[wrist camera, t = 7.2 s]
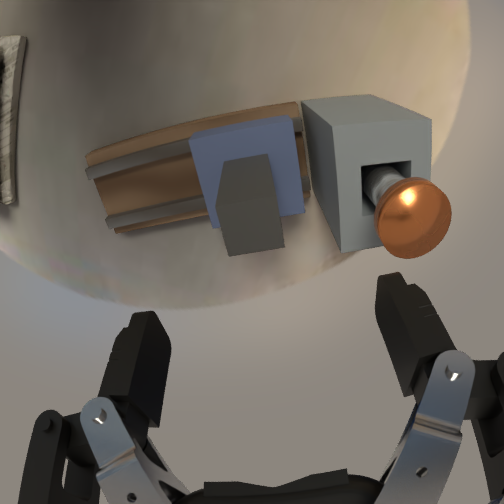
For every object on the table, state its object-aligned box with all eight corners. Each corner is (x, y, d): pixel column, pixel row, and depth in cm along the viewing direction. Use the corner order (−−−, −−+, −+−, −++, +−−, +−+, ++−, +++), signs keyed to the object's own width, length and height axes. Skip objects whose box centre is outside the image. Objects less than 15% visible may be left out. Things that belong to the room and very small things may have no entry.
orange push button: (343, 149, 18) (381, 190, 13) (403, 144, 17) (455, 181, 12) (347, 208, 20) (378, 264, 15) (402, 200, 20) (445, 251, 15)
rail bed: (92, 151, 25) (81, 159, 23) (294, 101, 23) (299, 105, 21) (120, 225, 29) (113, 238, 28) (307, 189, 28) (311, 201, 26)
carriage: (193, 132, 22) (164, 178, 14) (287, 114, 22) (312, 149, 14) (215, 213, 26) (203, 289, 18) (300, 199, 26) (324, 270, 18)
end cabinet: (300, 100, 23) (332, 126, 15) (370, 94, 23) (431, 119, 15) (313, 193, 28) (341, 258, 20) (375, 184, 27) (424, 243, 19)
